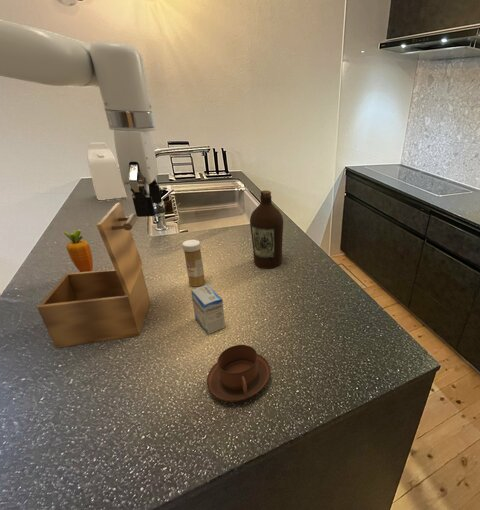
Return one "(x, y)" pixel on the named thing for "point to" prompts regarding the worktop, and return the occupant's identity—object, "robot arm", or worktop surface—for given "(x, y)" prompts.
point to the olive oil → (267, 233)
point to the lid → (121, 245)
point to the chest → (93, 308)
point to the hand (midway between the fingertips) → (150, 208)
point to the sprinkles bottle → (194, 262)
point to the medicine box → (208, 309)
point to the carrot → (79, 252)
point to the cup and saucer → (238, 374)
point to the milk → (104, 172)
